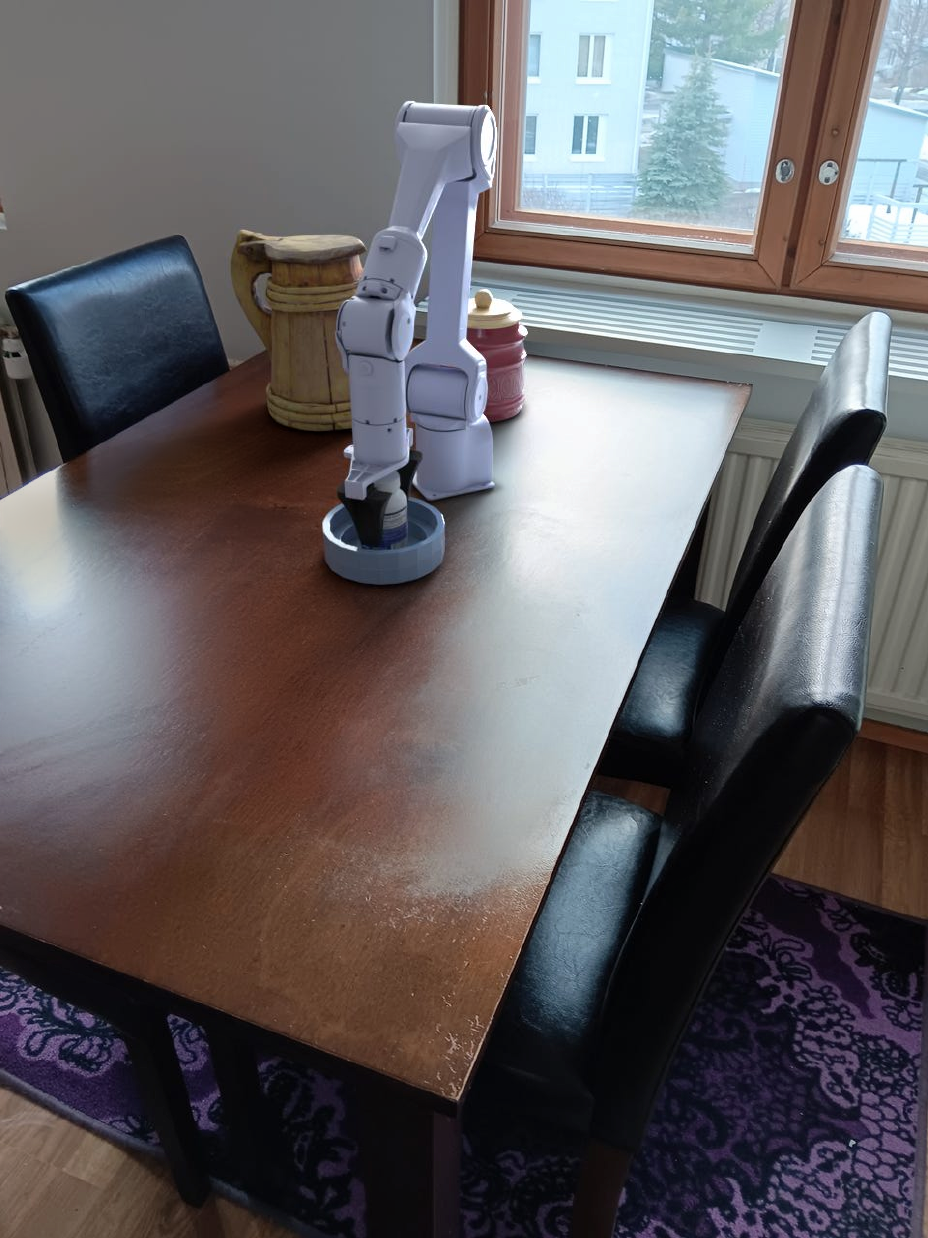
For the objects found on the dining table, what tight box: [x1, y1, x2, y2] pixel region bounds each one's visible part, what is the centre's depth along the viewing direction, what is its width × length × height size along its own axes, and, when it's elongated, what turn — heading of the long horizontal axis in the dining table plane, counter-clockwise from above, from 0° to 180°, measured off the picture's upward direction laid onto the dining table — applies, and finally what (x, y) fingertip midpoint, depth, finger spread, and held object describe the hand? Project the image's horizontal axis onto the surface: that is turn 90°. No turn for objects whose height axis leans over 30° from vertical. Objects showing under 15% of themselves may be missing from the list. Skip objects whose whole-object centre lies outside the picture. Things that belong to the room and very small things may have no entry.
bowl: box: [321, 496, 446, 586], centre depth 110 cm, size 14×14×4 cm
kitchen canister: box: [439, 288, 528, 423], centre depth 143 cm, size 13×13×18 cm
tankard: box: [230, 229, 367, 432], centre depth 140 cm, size 18×24×25 cm
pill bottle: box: [361, 471, 408, 550], centre depth 108 cm, size 5×5×10 cm
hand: (383, 528), depth 109 cm, fingers open, 7 cm apart
